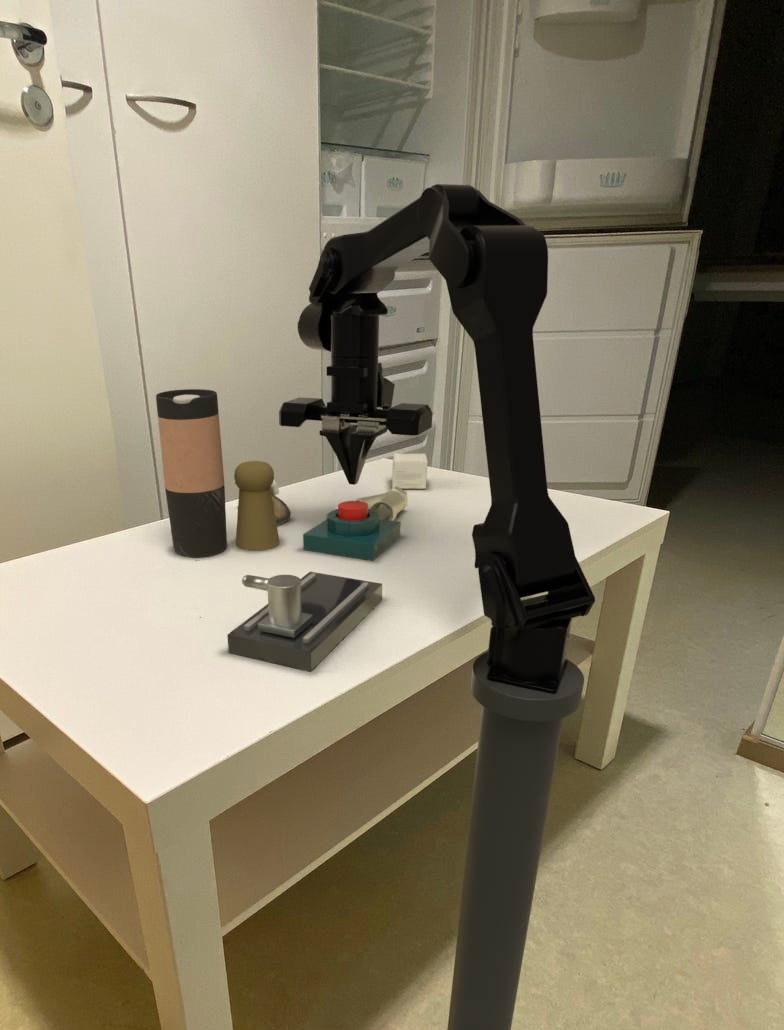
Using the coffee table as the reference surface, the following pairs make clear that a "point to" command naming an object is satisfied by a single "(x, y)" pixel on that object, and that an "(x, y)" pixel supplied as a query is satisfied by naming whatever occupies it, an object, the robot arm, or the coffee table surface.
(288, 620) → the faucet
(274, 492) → the eagle figurine
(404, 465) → the small box
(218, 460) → the travel mug
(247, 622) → the slide rail base
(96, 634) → the coffee table surface
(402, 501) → the pipe fitting
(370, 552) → the button block
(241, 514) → the brown tapered upright piece
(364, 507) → the button
